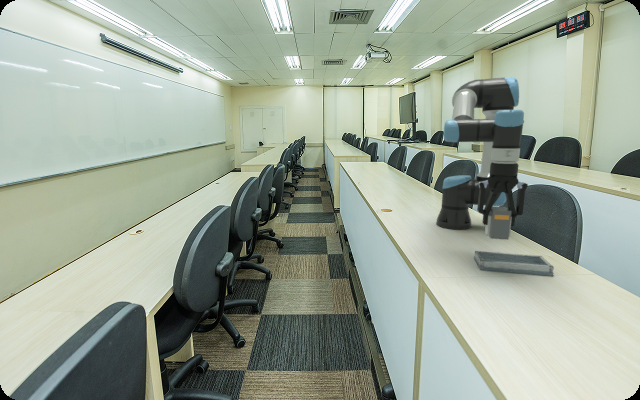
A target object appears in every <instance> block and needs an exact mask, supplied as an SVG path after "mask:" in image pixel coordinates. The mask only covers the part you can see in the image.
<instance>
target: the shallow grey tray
mask: <svg viewBox="0 0 640 400" xmlns="http://www.w3.org/2000/svg"><path fill="white" fill-rule="evenodd" d="M473 259H474V261H475V262H476V265H477V267H478V268H479V270H480V271H485V272H486V271H487V272H497V273H498V272H499V273H511V274H521V275H525V274H526V275H534V276H545V277H546V276H547V277H554V274H555V273H554V268H555V267H554V265H552V264H551V263H550V262H549V261H548V260H547V259H545V257H544V256H543V255H534V254H524V253H523V254H521V253H511V252H510V253H508V252H506V253H505V252H493V251H480V250H478V251H477V250H475V251H474V256H473Z"/></svg>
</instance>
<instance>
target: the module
mask: <svg viewBox="0 0 640 400" xmlns="http://www.w3.org/2000/svg"><path fill="white" fill-rule="evenodd" d="M511 212H512V211H510V210H509V209H508V207H506V206H492V208H491V210H490V213H489V214H490V215H491V225H490V235H489V236H488V237H489V238H490V239H492V240H493V239H495V240H509V238H510V237H509V230H510V231H511V228H510V221H511Z"/></svg>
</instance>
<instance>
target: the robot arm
mask: <svg viewBox="0 0 640 400" xmlns="http://www.w3.org/2000/svg"><path fill="white" fill-rule="evenodd" d="M519 102H520V87H519V82H518V79H517V78H515V77H506V76H505V77H497V78H496V77H495V78H485V79H483V78H482V79H474V80H471V81H468V82H466V83H464V84H462V85H461V86H460V87H459V88H457V90H456V91H455V92H454V93H453V96H452V99H451V103H452V104H451V105H452V107H453V109H452V117H451V119H448V120H446V121H445V122H444V127H443V129H444V130H443V139H444V142H448V143H483V144H482V155H481V163H480V164H481V166H480V167H481V168H480V172H479V173H477V174H476V178H472V175H468V174H467V175H465V174H464V175H463V174H462V175H461V174H460V175H453V176H448V177H445V178H444V180H443V183H442V196H441V209H440V210H439V214H438V216H437V218H436V225H437V226H438V227H441V228H444V229H450V230H469V229H471V228H472V219H471V215H470V211H469V207H470V205H471V206H472V205H473V206H476V207H477V209H476V210H477V212H478V213H479V214H482V224H483V225H484V226H485V227H484V234H485V236H487V237H489V235H490V225H491V215H490V214H489V213H490V210H491V208H492V207H503V206H504V205H505V203H506V204H507V208H508V209H509V210H510V211H512V212H511V221H510V230H509V238H510V237H511V227H514V226H515V224H516V223H515V222H516V221H515V220H516V218H517V216H522V215H523V214H524V204H525V197H526V196H525V194H526V190H527V188H528V185H529V184H528V183H526V182H522V181H519V179H518V175H519V174H518V173H519V167H520V166H519V164H518V163H517V162H519V161H520V155H521V144H522V136H523V128H524V123H525V120H524V119H525V112H524V110H522V109H514V108H516V107H518V106H519V104H520V103H519ZM476 108H477V109H481V112H482V115H484V116H485V118H481V119H480V118H477V119H476V118H475V109H476ZM515 187H517V195H516V197H517V198H516V205H515V203H514V201H515V200H514V197H513V196H514V194H513V189H515Z"/></svg>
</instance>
